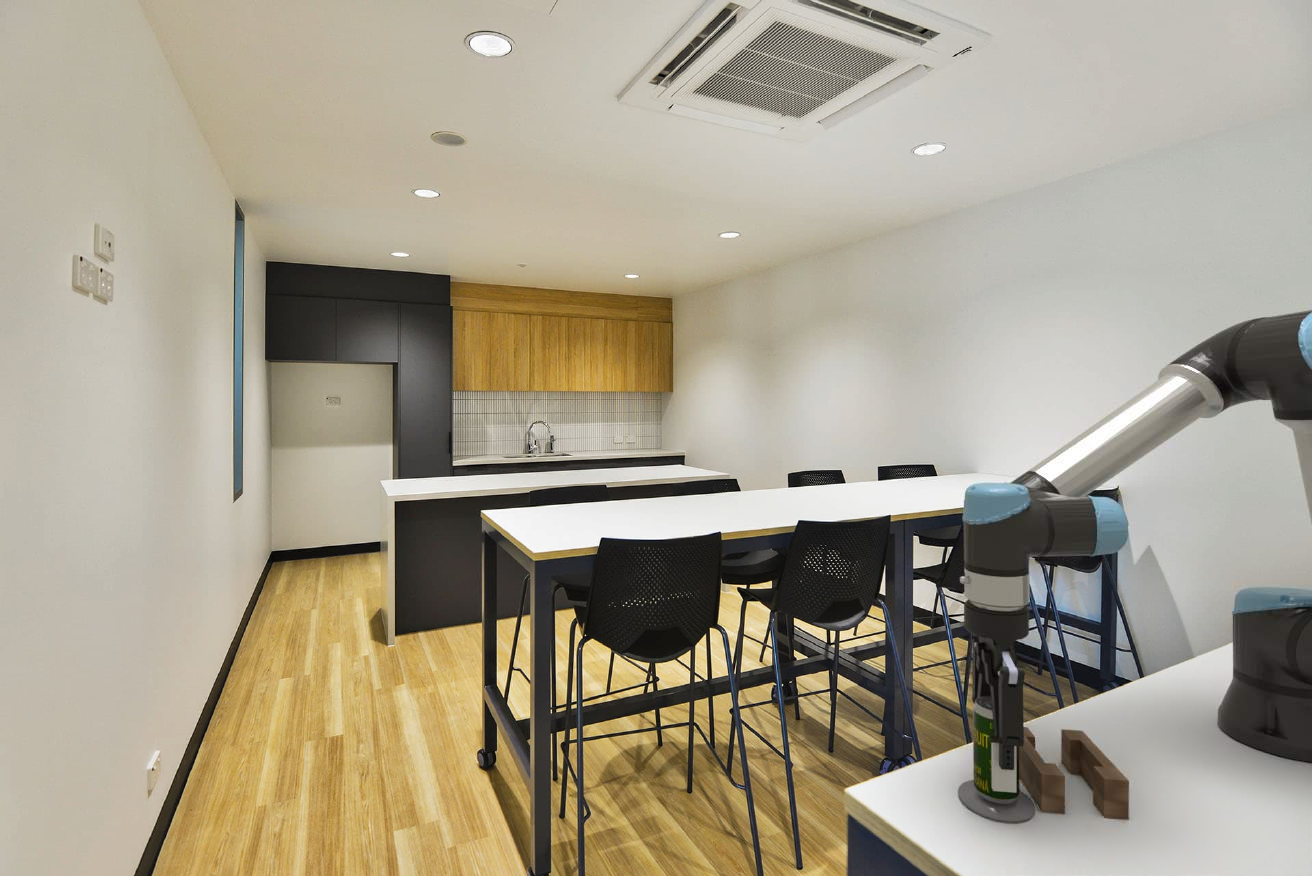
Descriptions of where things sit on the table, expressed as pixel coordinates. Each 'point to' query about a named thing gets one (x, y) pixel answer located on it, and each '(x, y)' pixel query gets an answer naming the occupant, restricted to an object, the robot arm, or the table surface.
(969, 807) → the coaster
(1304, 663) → the robot arm
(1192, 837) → the table surface
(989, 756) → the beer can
